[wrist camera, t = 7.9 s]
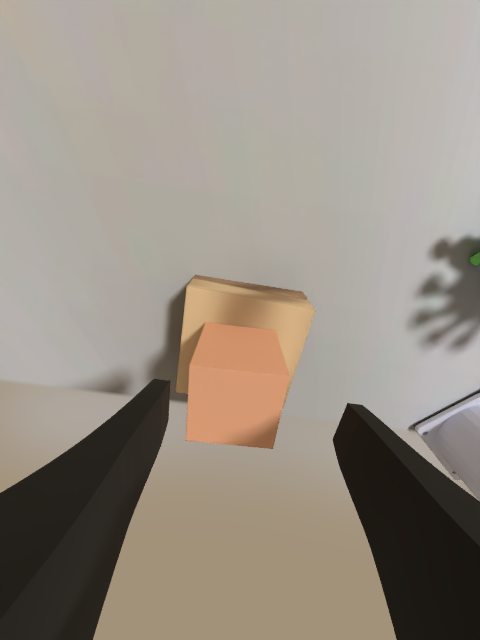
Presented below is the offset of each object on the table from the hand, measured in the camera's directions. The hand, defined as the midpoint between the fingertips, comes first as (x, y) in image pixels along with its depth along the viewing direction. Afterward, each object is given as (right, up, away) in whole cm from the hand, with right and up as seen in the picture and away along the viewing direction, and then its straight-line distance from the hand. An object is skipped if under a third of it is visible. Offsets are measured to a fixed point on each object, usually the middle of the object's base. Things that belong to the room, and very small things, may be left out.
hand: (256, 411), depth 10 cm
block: (-1, +1, +6) cm, 7 cm away
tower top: (-1, +2, +8) cm, 9 cm away
